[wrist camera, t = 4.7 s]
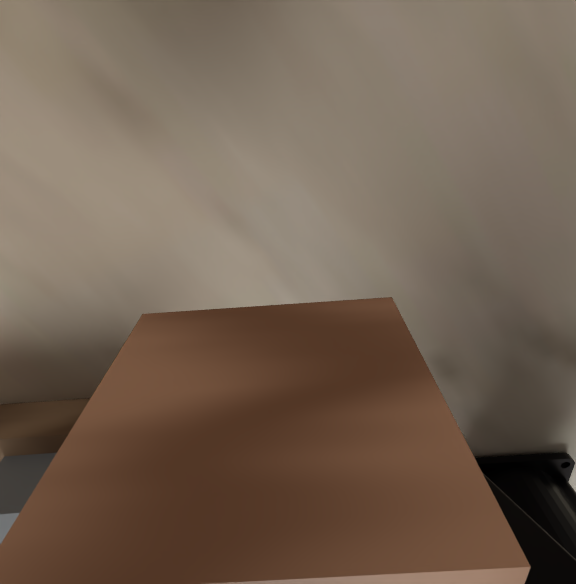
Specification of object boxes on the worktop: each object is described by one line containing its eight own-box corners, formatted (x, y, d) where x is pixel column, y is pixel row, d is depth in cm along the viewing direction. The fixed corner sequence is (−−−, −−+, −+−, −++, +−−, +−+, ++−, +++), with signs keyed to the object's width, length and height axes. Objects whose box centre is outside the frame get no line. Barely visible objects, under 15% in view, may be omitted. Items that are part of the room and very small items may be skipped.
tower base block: (195, 383, 21) (182, 427, 18) (224, 506, 25) (217, 555, 23) (7, 396, 21) (-33, 441, 18) (69, 515, 26) (44, 565, 23)
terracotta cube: (391, 297, 8) (530, 566, 3) (382, 469, 10) (458, 764, 6) (142, 314, 8) (-32, 596, 4) (188, 480, 10) (117, 777, 6)
